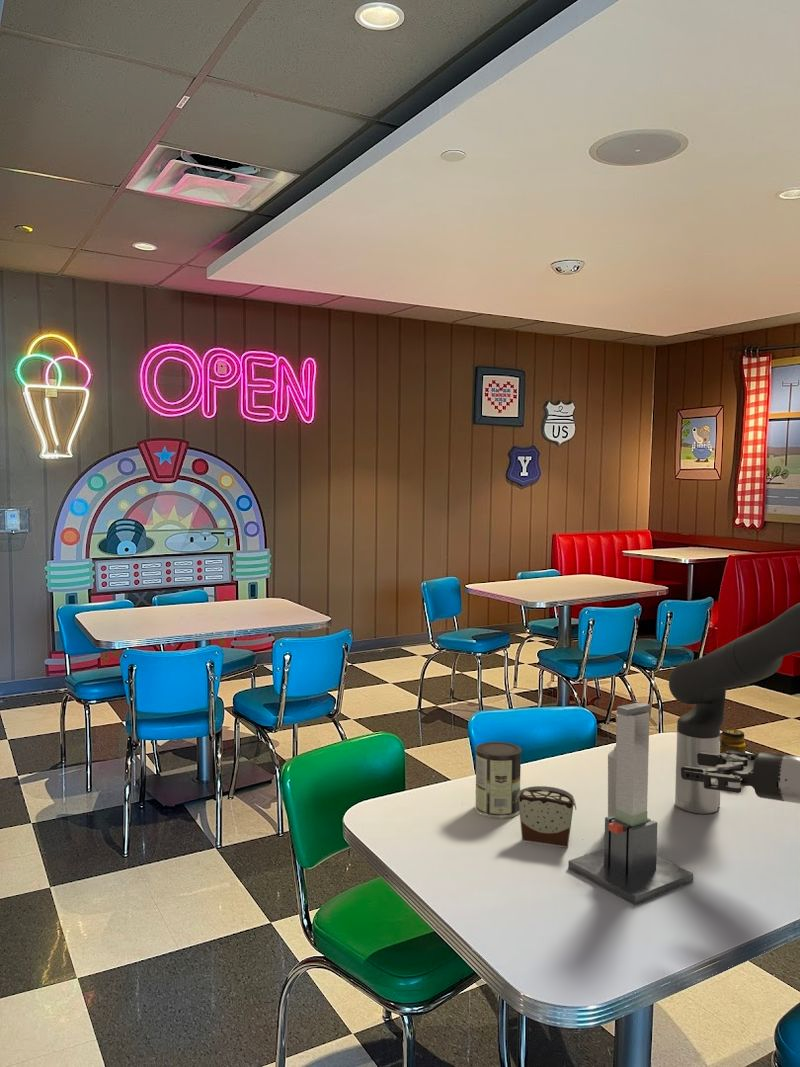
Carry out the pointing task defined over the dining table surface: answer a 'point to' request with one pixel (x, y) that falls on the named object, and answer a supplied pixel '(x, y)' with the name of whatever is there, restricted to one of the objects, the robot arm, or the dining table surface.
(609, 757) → the bottle
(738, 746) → the condiment
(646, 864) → the stand
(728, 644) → the robot arm
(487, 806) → the coffee can
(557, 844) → the food container
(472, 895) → the dining table surface
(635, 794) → the post
